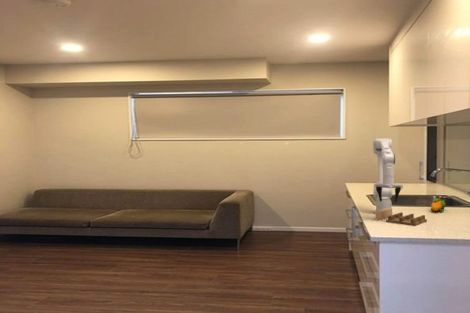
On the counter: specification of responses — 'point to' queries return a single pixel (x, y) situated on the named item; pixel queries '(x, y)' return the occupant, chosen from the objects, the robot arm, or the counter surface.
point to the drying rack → (406, 219)
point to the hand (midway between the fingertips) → (388, 201)
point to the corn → (437, 205)
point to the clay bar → (383, 213)
